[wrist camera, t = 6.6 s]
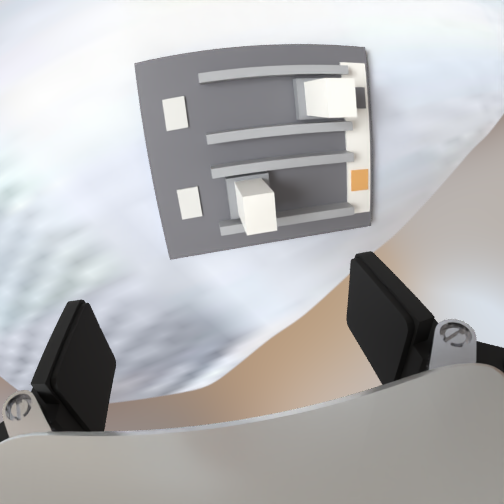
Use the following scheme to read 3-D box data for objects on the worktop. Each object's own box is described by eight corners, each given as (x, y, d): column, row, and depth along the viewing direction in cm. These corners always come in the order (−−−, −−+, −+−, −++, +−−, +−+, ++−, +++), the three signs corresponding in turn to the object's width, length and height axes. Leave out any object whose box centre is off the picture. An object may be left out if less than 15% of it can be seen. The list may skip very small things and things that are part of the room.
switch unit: (359, 48, 22) (373, 45, 20) (366, 221, 29) (378, 231, 27) (136, 65, 20) (130, 60, 18) (170, 254, 27) (169, 267, 25)
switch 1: (266, 170, 24) (282, 186, 20) (269, 209, 26) (286, 233, 21) (224, 176, 24) (232, 193, 19) (230, 216, 25) (238, 241, 21)
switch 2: (331, 78, 22) (361, 74, 17) (334, 117, 23) (365, 121, 19) (292, 79, 21) (316, 73, 17) (296, 119, 23) (320, 123, 18)
